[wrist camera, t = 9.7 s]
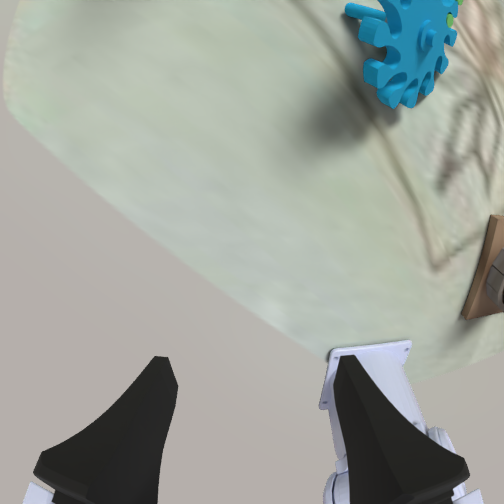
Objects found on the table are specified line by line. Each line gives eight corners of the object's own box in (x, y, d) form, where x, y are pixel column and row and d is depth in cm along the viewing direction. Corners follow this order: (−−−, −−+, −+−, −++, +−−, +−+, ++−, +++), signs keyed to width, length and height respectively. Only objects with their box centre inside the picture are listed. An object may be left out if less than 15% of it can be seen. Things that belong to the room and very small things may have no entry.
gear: (395, 145, 14) (362, -5, 6) (325, 101, 17) (255, -18, 8) (470, 58, 12) (464, -56, 3) (406, 27, 14) (376, -75, 6)
